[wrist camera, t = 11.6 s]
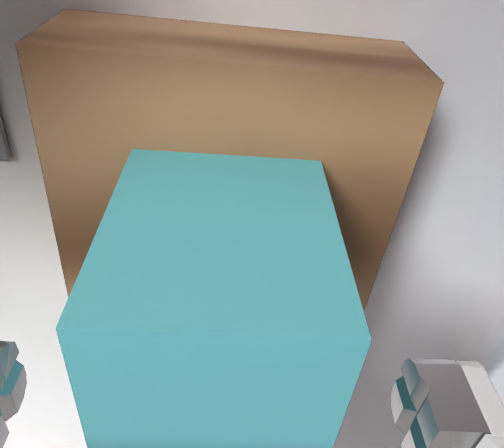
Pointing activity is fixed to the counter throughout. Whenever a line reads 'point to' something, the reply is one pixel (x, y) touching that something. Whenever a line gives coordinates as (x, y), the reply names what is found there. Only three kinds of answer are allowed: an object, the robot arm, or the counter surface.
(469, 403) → the robot arm
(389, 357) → the counter surface
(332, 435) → the teal block
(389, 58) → the walnut plinth
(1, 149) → the card
